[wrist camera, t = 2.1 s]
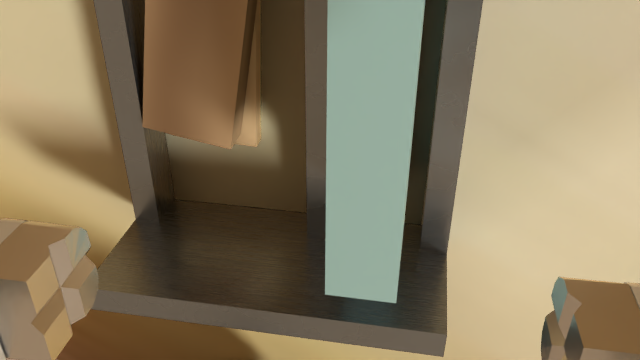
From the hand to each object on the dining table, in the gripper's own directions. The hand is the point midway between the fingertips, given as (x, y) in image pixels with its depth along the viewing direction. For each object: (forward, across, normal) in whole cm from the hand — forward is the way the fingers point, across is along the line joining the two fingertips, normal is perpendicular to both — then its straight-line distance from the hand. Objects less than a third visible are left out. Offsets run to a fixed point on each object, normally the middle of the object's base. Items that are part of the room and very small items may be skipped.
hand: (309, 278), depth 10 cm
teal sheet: (+16, -1, 0) cm, 16 cm away
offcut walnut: (+15, +7, 0) cm, 17 cm away
